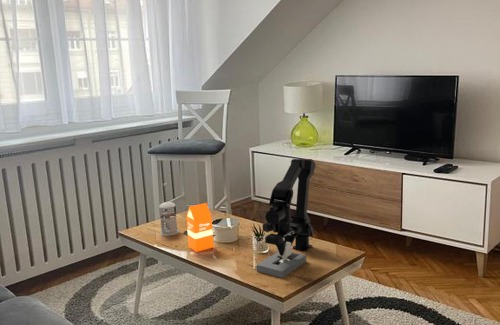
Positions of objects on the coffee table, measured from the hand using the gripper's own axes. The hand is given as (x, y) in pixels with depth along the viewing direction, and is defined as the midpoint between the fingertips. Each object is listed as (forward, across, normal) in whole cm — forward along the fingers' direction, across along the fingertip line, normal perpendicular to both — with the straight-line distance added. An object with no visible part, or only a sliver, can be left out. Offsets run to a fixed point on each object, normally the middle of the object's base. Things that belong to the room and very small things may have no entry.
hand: (284, 253), depth 208 cm
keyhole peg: (+4, 0, 0) cm, 4 cm away
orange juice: (+5, +3, -43) cm, 43 cm away
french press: (+5, -4, -71) cm, 71 cm away
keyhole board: (+5, +2, 0) cm, 5 cm away
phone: (+5, -9, -55) cm, 56 cm away
